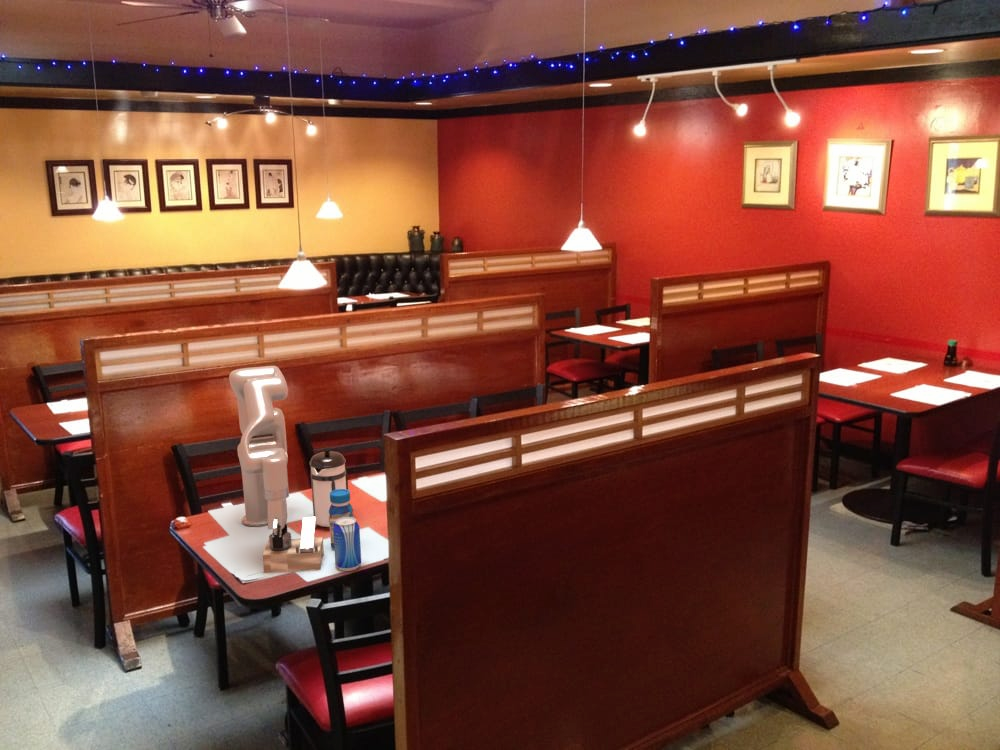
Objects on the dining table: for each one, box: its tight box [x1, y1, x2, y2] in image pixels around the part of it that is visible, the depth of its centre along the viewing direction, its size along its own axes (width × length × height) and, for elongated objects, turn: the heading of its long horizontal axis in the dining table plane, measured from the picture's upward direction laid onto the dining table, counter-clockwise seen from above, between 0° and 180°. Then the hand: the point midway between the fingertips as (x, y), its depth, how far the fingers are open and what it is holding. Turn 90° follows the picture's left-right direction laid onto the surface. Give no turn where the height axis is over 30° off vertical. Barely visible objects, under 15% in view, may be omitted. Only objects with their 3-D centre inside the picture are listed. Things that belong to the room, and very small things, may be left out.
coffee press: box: [309, 446, 349, 529], centre depth 308 cm, size 17×16×30 cm
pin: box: [268, 531, 292, 551], centre depth 277 cm, size 7×7×10 cm
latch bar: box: [300, 516, 316, 553], centre depth 277 cm, size 14×4×2 cm
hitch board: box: [262, 536, 325, 574], centre depth 278 cm, size 12×18×8 cm, turn 96°
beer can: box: [333, 517, 362, 572], centre depth 274 cm, size 8×8×16 cm
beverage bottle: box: [329, 489, 355, 550], centre depth 289 cm, size 8×8×20 cm
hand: (280, 541), depth 277 cm, fingers open, 9 cm apart
